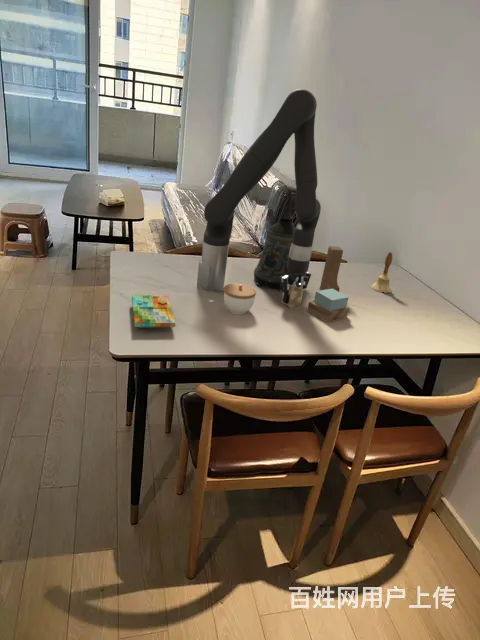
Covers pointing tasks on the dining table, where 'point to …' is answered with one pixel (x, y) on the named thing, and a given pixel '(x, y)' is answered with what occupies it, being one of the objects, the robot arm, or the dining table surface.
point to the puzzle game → (152, 311)
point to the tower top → (331, 299)
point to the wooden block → (331, 269)
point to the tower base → (327, 312)
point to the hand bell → (384, 277)
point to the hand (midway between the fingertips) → (291, 301)
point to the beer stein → (275, 255)
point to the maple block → (294, 297)
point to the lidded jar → (239, 297)
